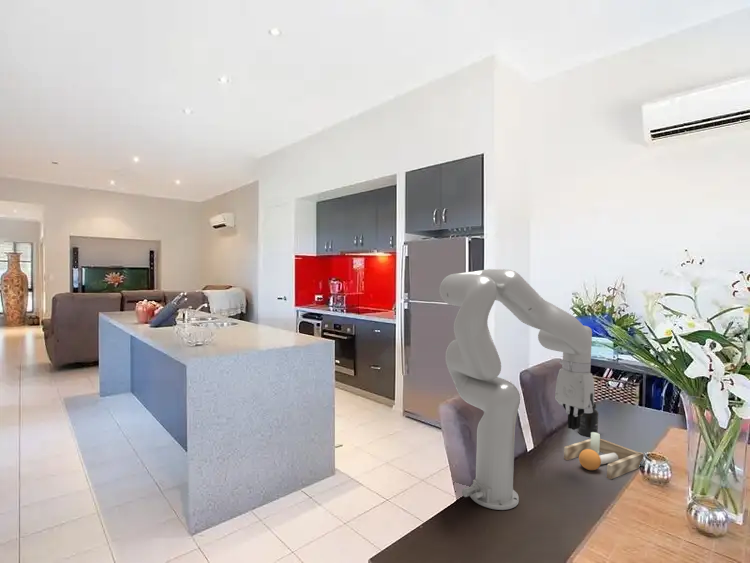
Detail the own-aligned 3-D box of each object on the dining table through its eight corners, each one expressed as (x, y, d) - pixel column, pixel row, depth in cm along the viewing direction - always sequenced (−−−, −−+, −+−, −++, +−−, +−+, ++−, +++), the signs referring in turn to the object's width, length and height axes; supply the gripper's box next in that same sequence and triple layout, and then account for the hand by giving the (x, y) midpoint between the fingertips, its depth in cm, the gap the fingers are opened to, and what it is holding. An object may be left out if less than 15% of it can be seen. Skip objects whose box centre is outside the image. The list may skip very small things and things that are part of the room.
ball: (607, 455, 128) (602, 473, 128) (589, 444, 133) (584, 462, 133) (595, 456, 125) (590, 475, 125) (577, 445, 130) (572, 464, 130)
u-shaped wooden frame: (610, 479, 123) (611, 466, 123) (563, 459, 136) (564, 446, 136) (643, 466, 132) (643, 453, 132) (596, 448, 145) (596, 436, 145)
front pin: (598, 457, 131) (617, 453, 135) (591, 455, 134) (610, 452, 137) (599, 466, 131) (619, 461, 134) (592, 464, 133) (611, 460, 137)
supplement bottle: (600, 438, 154) (601, 405, 154) (580, 436, 156) (581, 404, 155) (594, 431, 161) (595, 400, 161) (575, 429, 162) (576, 398, 162)
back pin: (596, 462, 134) (597, 435, 134) (588, 459, 136) (589, 433, 136) (600, 460, 135) (601, 434, 135) (592, 457, 138) (593, 431, 138)
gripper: (546, 362, 129) (543, 422, 130) (593, 373, 117) (590, 439, 117) (561, 360, 133) (559, 418, 134) (608, 371, 121) (605, 434, 121)
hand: (573, 428), depth 125 cm, fingers closed
